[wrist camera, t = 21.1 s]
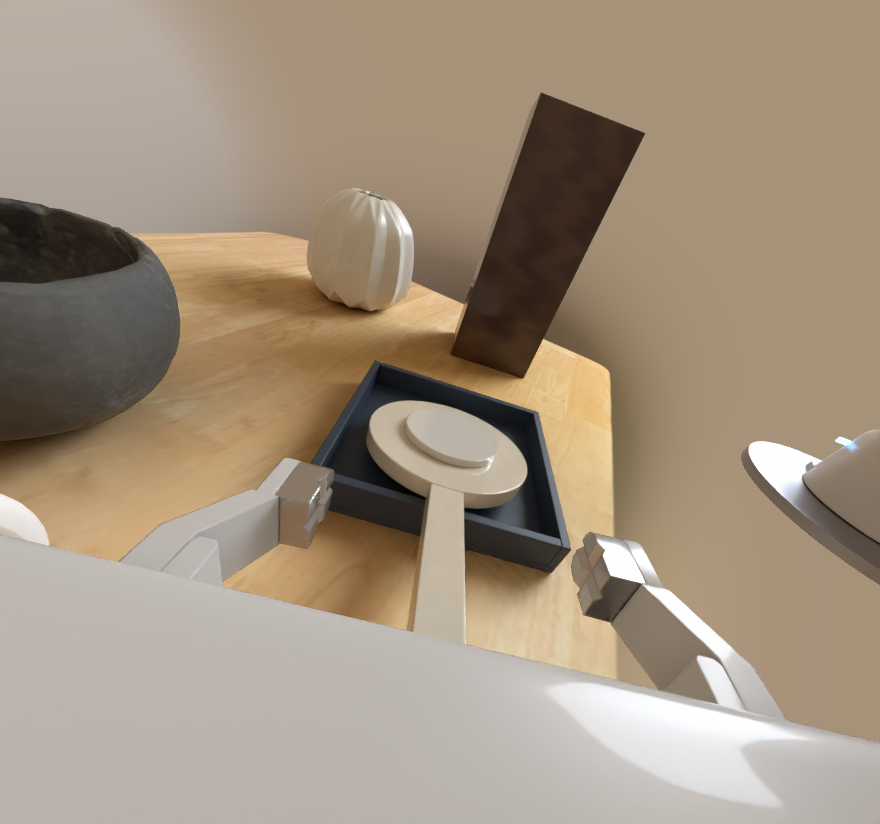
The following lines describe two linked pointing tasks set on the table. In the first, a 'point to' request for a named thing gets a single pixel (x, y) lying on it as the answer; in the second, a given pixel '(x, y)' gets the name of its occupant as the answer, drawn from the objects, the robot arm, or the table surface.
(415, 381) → the tray
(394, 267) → the vase
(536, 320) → the stand
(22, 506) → the mug
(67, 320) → the bowl
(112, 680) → the robot arm
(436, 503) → the beige frying pan
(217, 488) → the table surface
